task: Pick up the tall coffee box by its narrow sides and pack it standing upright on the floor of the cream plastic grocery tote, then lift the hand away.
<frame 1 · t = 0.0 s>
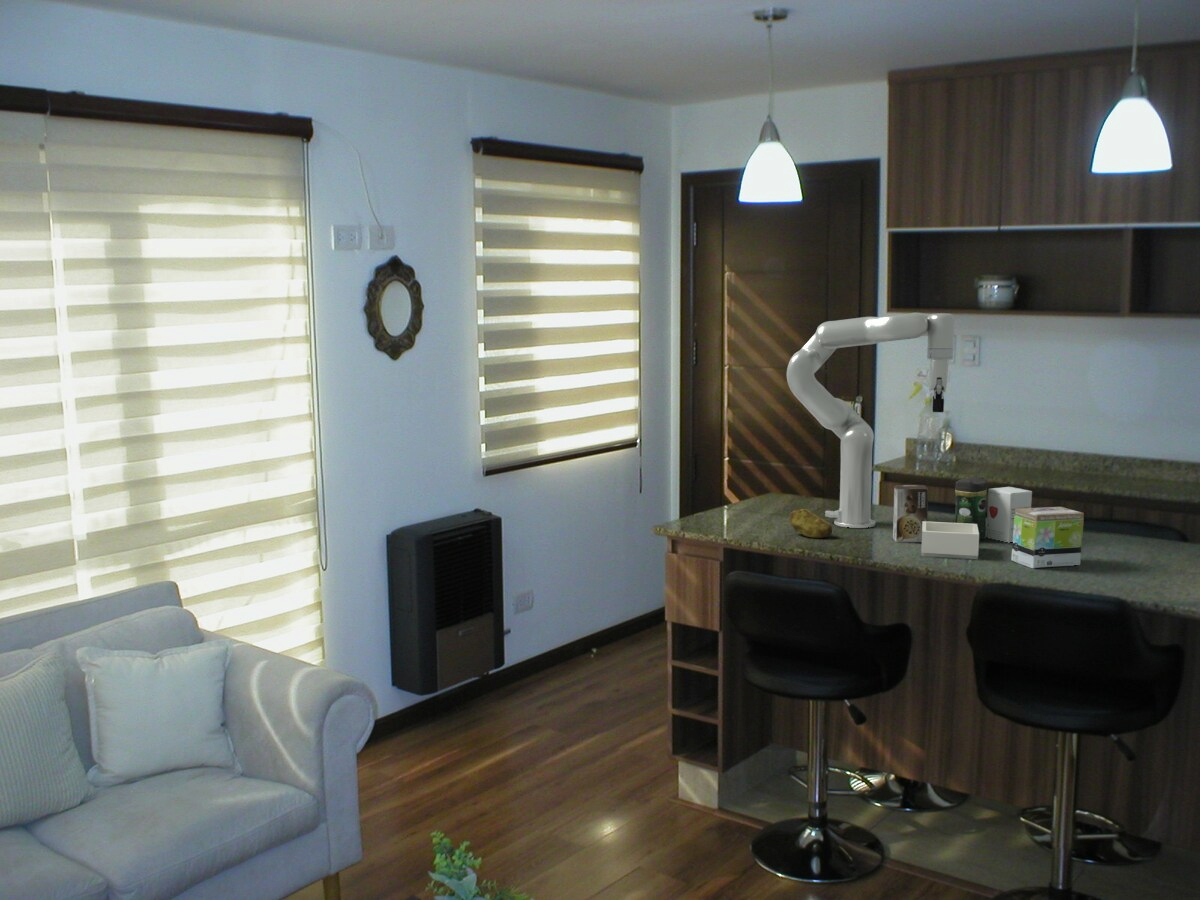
hand: (937, 410, 357), 37 cm above the countertop, tool pointing down, fingers open, 9 cm apart
coffee box: (909, 540, 346), on the countertop
tote: (949, 552, 330), on the countertop
tea box: (1045, 564, 316), on the countertop
supplement box: (1007, 540, 347), on the countertop
coffee jar: (969, 539, 347), on the countertop
potato: (809, 536, 352), on the countertop
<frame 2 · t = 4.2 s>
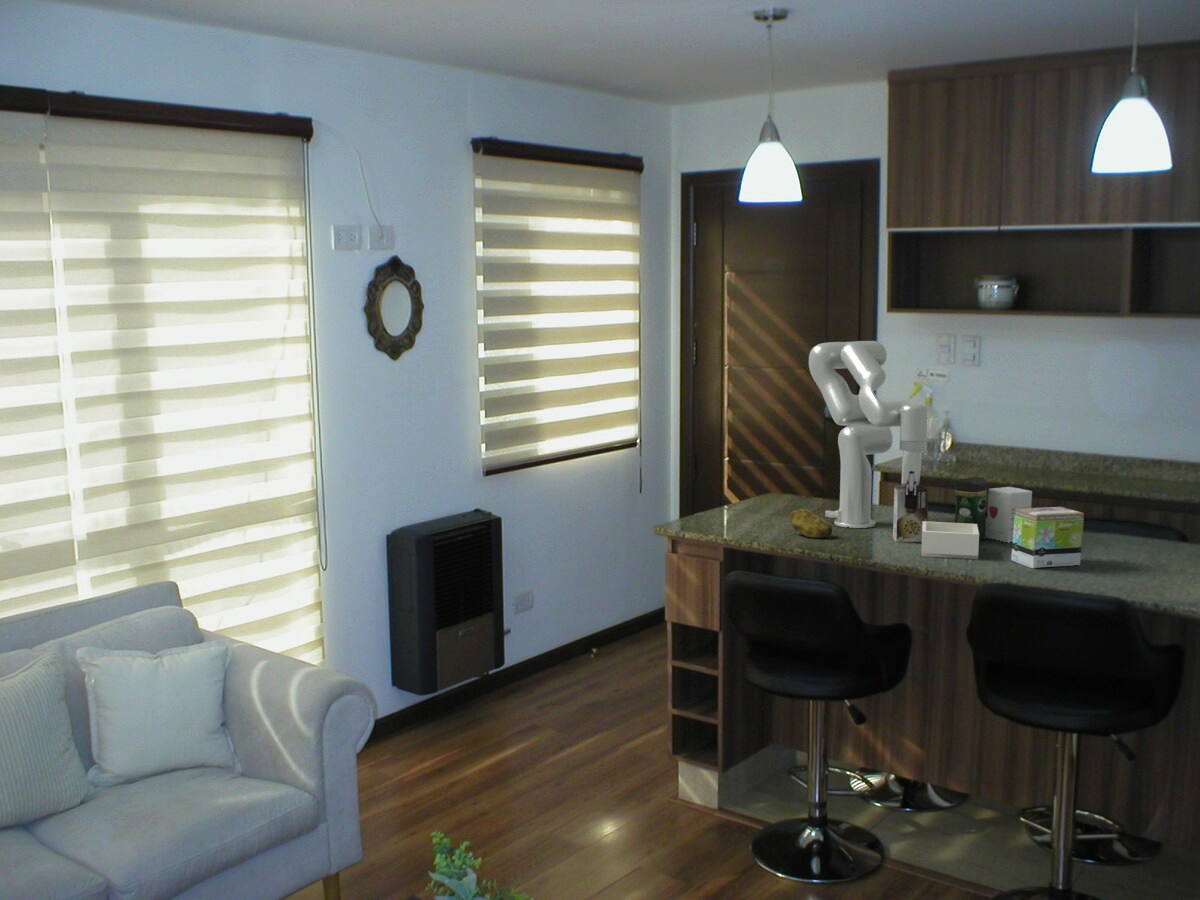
hand: (910, 505, 344), 10 cm above the countertop, tool pointing down, fingers closed on coffee box, 7 cm apart
coffee box: (909, 540, 346), on the countertop, touching gripper
everything else where it was.
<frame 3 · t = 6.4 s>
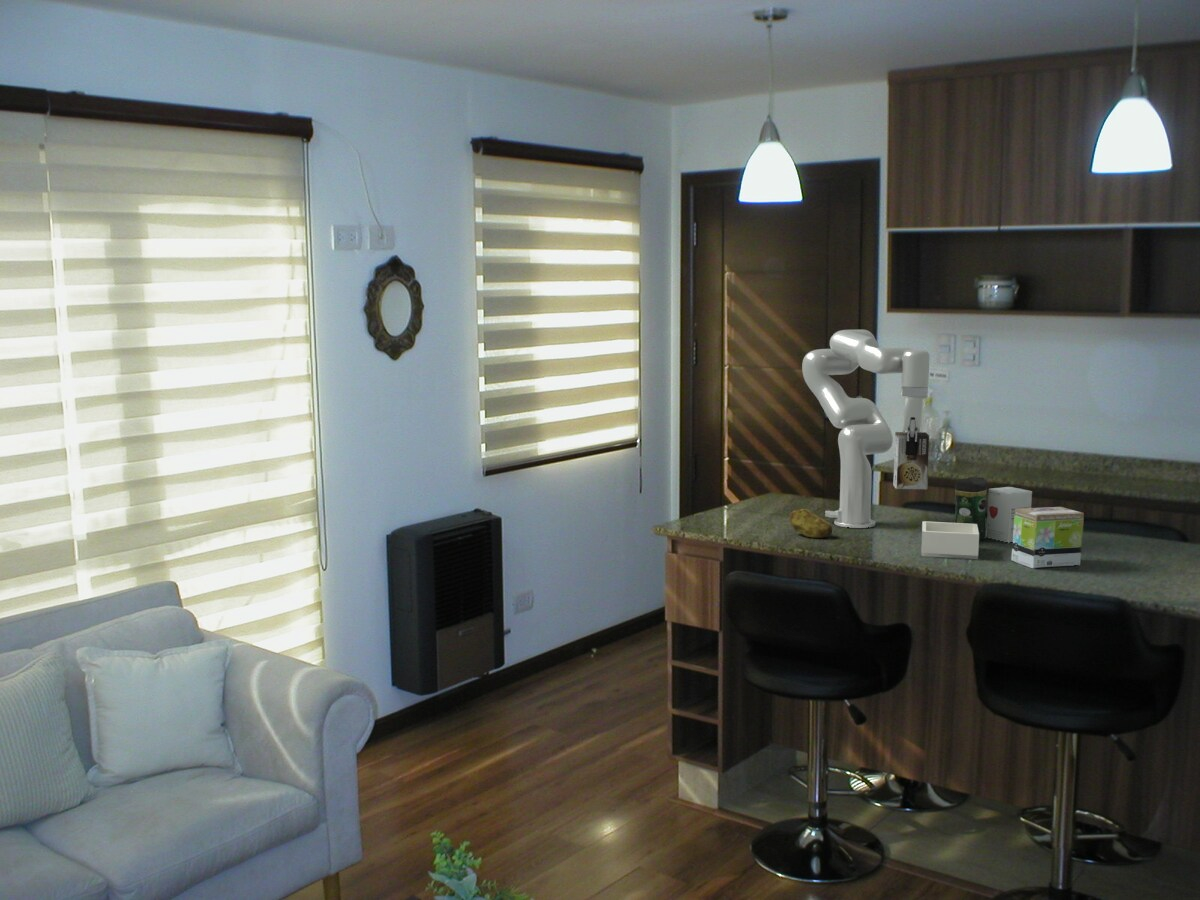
hand: (911, 452, 343), 26 cm above the countertop, tool pointing down, fingers closed on coffee box, 7 cm apart
coffee box: (909, 488, 344), point 15 cm above the countertop, touching gripper
everything else where it was.
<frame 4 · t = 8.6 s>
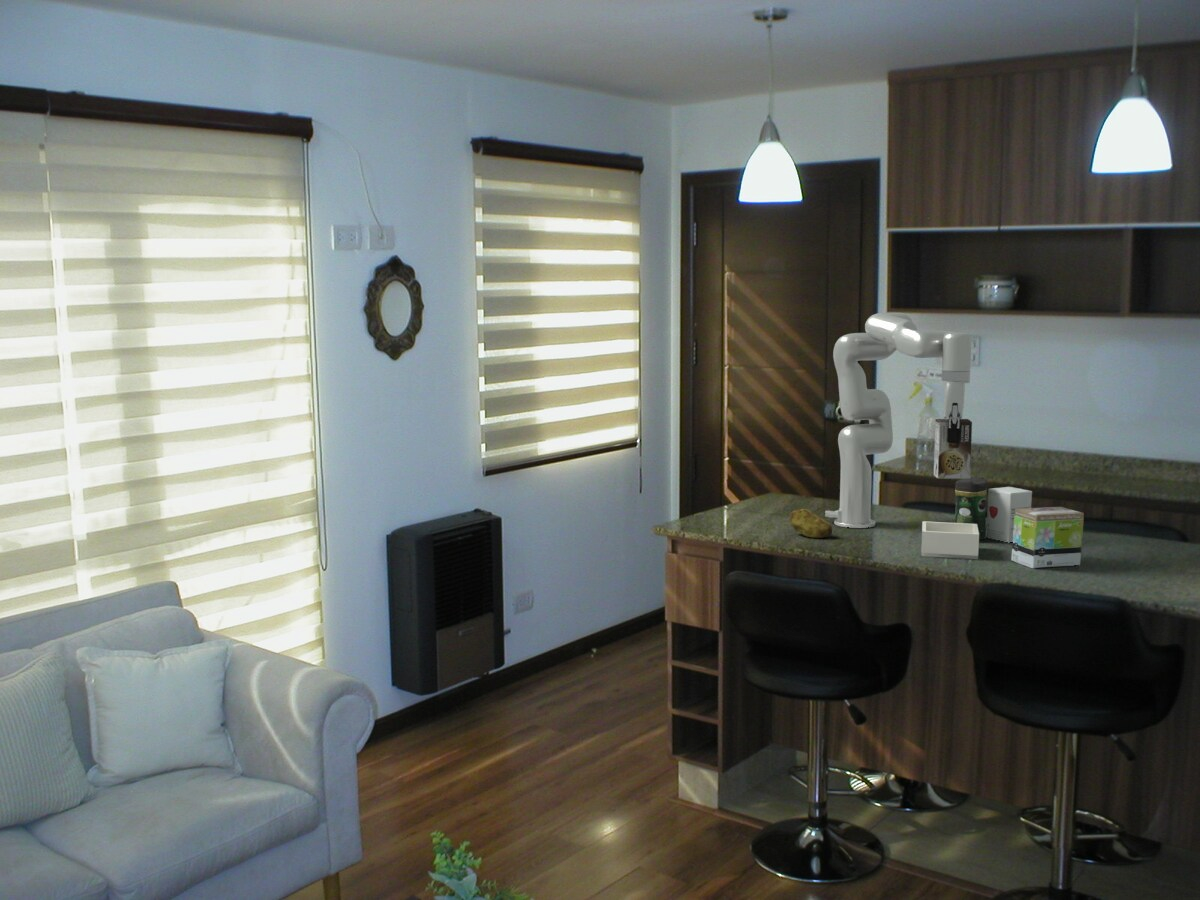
hand: (953, 440, 326), 32 cm above the countertop, tool pointing down, fingers closed on coffee box, 7 cm apart
coffee box: (951, 477, 327), point 21 cm above the countertop, touching gripper
everything else where it was.
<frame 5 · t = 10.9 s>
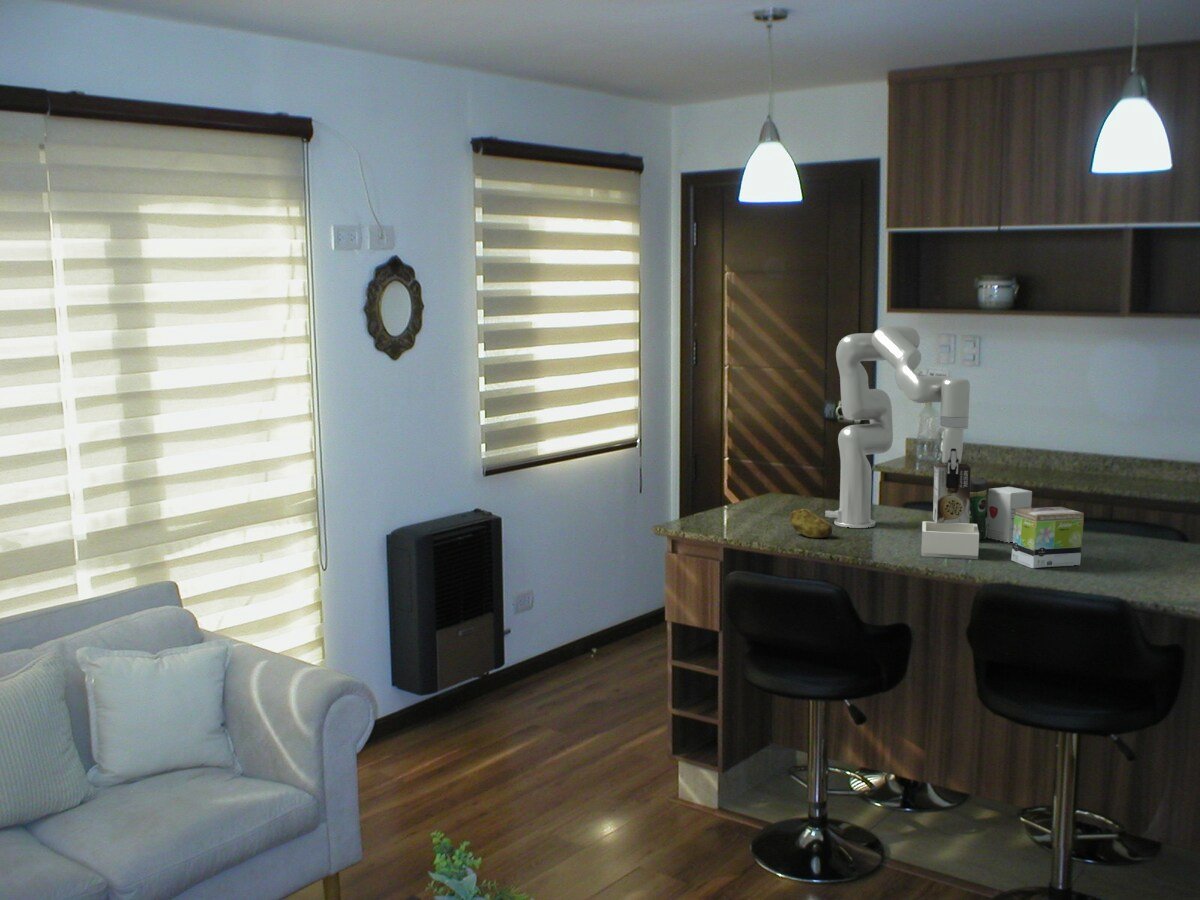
hand: (951, 485, 327), 19 cm above the countertop, tool pointing down, fingers closed on coffee box, 7 cm apart
coffee box: (950, 522, 329), point 9 cm above the countertop, touching gripper
everything else where it was.
when the fingers open (13 cm above the countertop, at t = 12.8 s): coffee box drops 1 cm, resting on tote.
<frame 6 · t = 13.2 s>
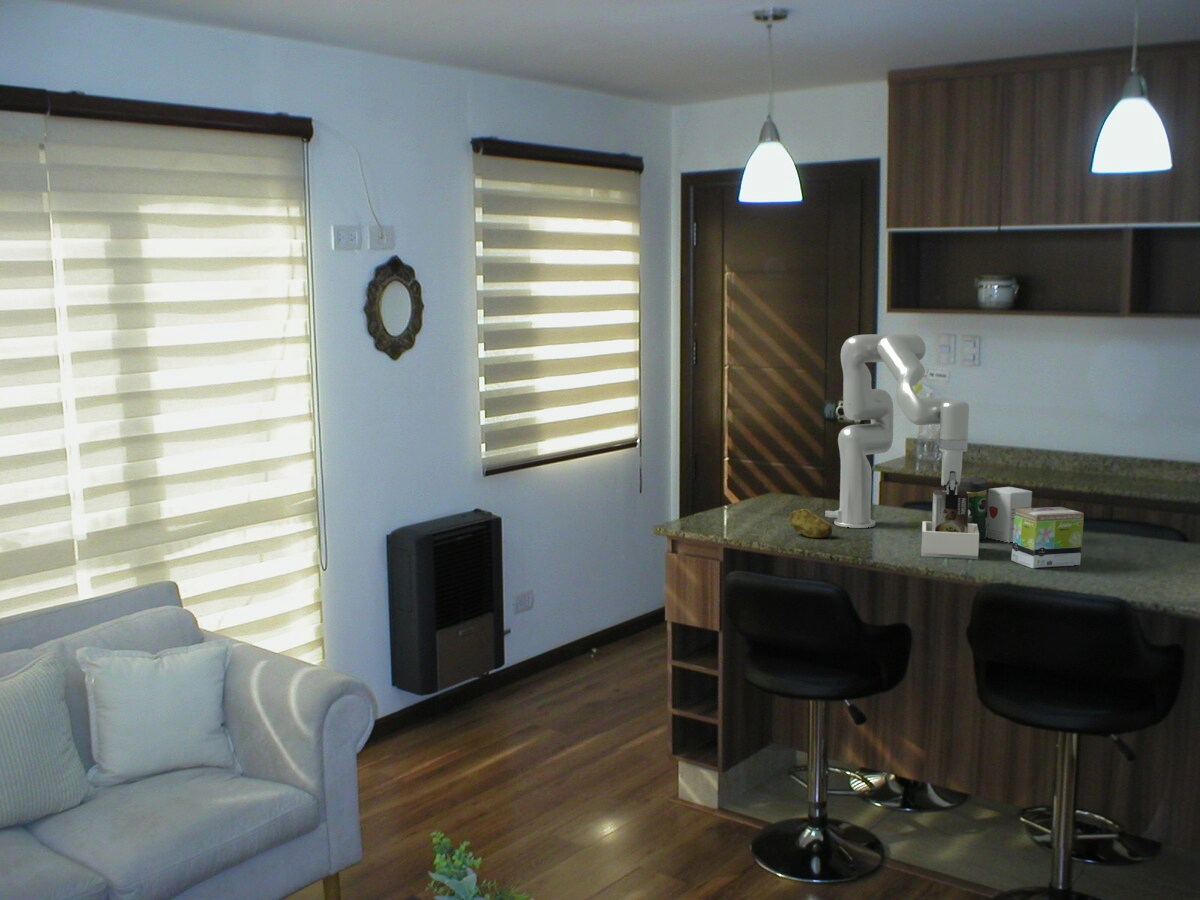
hand: (950, 505, 328), 13 cm above the countertop, tool pointing down, fingers open, 9 cm apart
coffee box: (948, 548, 330), point 1 cm above the countertop, touching tote
everything else where it was.
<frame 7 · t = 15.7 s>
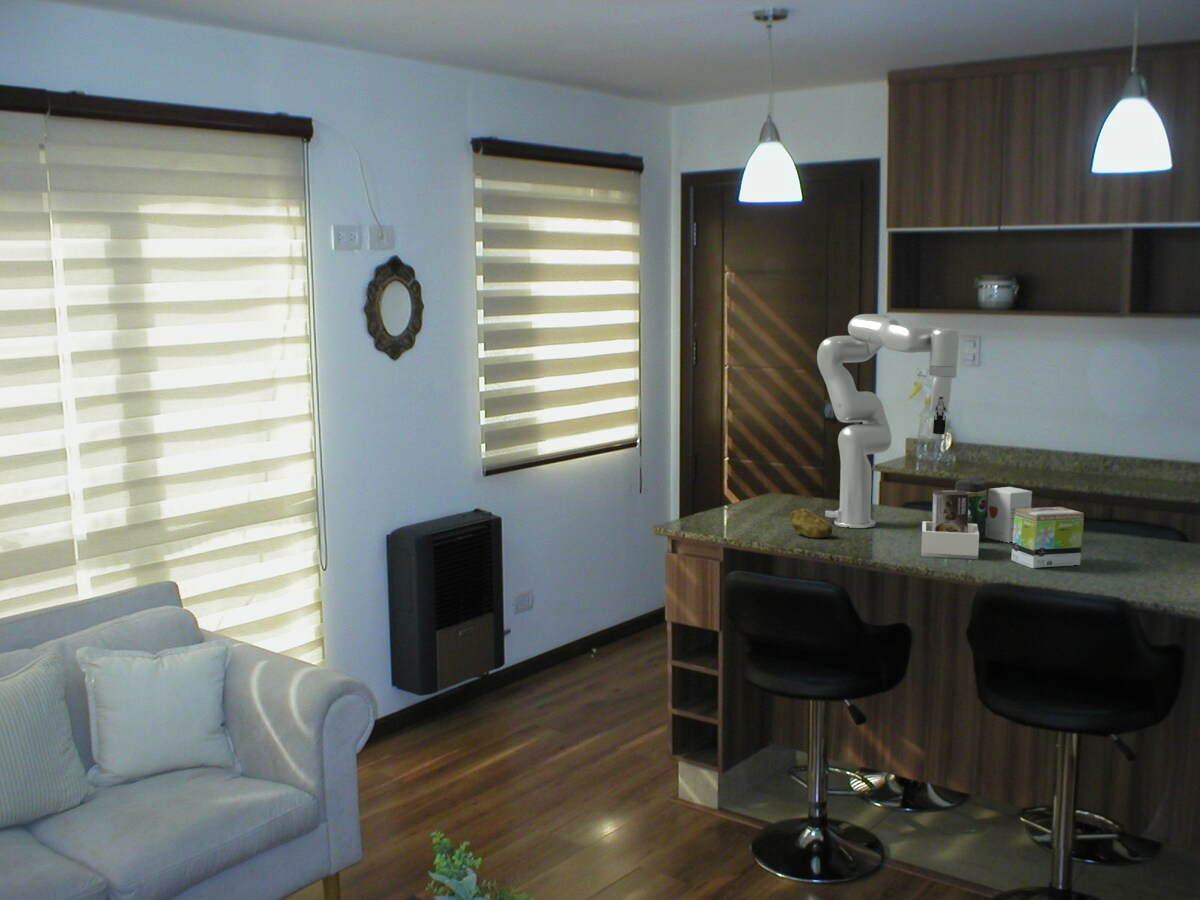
hand: (939, 431, 335), 33 cm above the countertop, tool pointing down, fingers open, 9 cm apart
nothing on the countertop moved.
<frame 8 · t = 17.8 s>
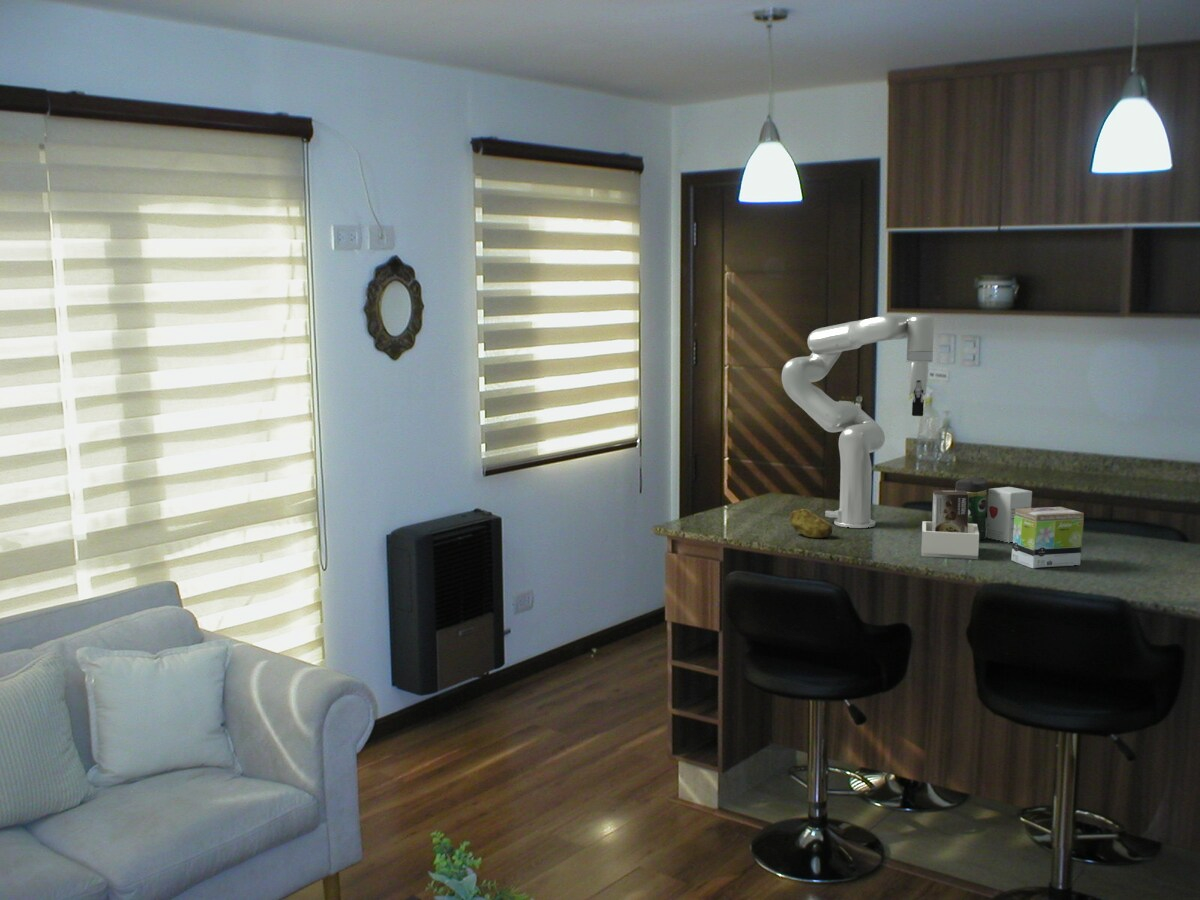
hand: (917, 414, 351), 36 cm above the countertop, tool pointing down, fingers open, 9 cm apart
nothing on the countertop moved.
at the end: coffee box inside the target area on the tote (0.5 cm from its centre), point 0.8 cm above the tote's base; coffee box tilted 0°; the gripper is holding nothing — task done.
